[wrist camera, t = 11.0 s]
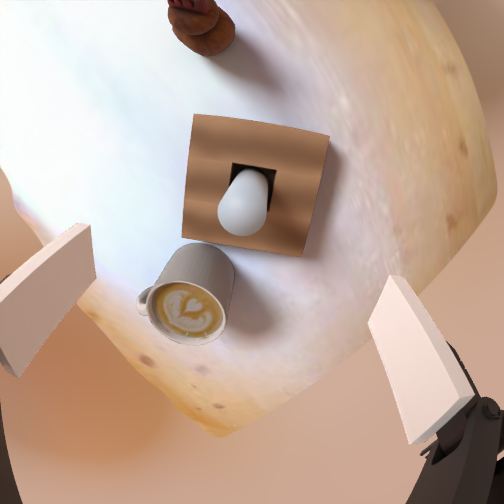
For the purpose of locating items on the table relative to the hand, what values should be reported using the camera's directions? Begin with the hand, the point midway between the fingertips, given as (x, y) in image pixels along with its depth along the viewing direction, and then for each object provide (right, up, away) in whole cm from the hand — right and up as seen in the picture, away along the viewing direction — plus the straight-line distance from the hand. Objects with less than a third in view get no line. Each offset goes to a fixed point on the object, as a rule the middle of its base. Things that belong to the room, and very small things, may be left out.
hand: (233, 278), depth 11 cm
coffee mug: (-8, -2, +30) cm, 31 cm away
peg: (+1, +10, +22) cm, 24 cm away
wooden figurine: (-4, +27, +15) cm, 32 cm away
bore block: (+1, +10, +23) cm, 25 cm away
